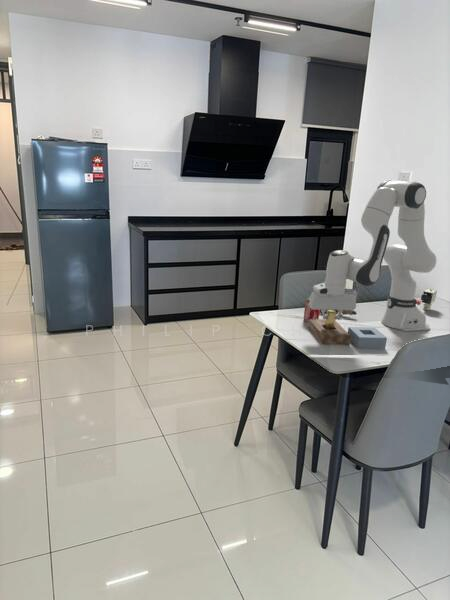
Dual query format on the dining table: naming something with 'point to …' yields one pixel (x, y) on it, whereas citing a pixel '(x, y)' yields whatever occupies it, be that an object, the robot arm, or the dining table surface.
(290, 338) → the dining table surface
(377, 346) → the dock block
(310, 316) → the soda can
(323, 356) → the dining table surface
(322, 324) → the wooden socket block
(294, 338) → the dining table surface
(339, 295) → the robot arm
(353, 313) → the decorative bottle
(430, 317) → the dining table surface
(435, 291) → the pneumatic valve
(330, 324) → the brass pin
